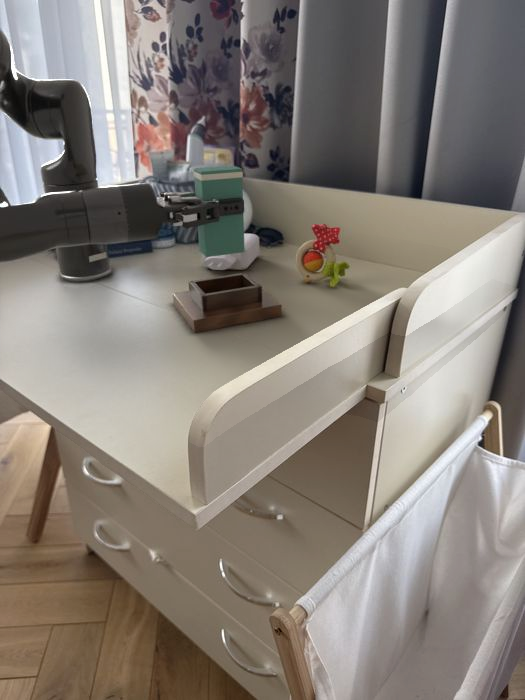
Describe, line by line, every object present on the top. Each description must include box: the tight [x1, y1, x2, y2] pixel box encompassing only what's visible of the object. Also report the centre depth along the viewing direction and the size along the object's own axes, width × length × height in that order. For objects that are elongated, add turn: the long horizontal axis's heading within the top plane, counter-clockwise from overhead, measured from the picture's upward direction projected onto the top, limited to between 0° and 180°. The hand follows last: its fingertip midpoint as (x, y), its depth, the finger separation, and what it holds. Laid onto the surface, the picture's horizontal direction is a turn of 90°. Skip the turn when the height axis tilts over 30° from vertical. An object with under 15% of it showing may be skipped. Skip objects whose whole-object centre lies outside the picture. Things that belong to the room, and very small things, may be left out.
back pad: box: [193, 165, 245, 257], centre depth 79 cm, size 6×4×12 cm, turn 113°
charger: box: [201, 232, 260, 271], centre depth 105 cm, size 5×9×15 cm
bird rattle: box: [295, 223, 350, 288], centre depth 95 cm, size 6×11×9 cm
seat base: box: [172, 272, 282, 333], centre depth 86 cm, size 14×12×4 cm
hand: (237, 202), depth 80 cm, fingers closed on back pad, 3 cm apart
